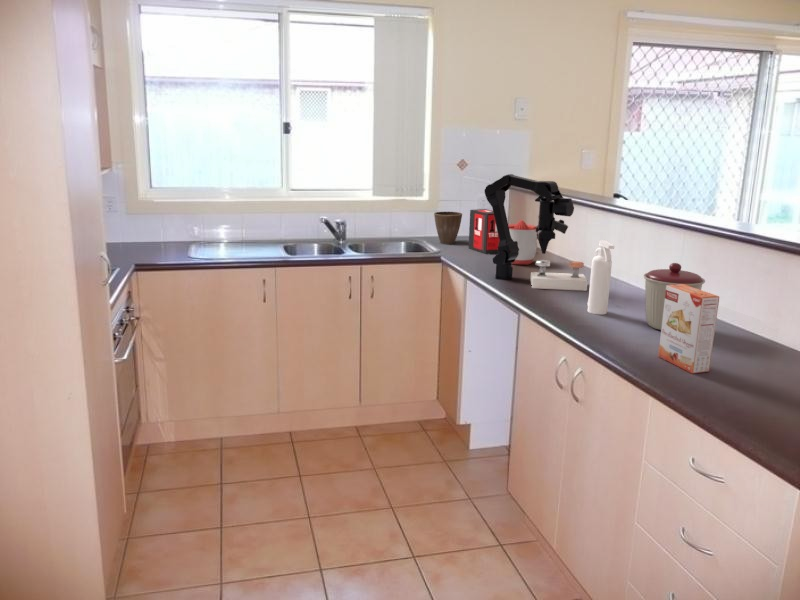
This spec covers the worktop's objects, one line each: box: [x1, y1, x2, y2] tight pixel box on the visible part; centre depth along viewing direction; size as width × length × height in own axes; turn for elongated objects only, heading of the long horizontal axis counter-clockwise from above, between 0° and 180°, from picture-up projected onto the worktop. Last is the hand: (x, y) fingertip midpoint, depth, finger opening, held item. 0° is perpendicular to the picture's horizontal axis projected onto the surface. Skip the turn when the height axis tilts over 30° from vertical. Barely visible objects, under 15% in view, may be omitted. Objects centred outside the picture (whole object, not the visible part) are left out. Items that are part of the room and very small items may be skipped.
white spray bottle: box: [586, 239, 615, 315], centre depth 234 cm, size 7×12×25 cm, turn 9°
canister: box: [643, 262, 706, 331], centre depth 216 cm, size 18×18×21 cm
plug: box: [535, 259, 551, 275], centre depth 272 cm, size 6×6×5 cm
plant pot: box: [433, 211, 463, 245], centre depth 366 cm, size 15×15×16 cm
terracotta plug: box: [568, 260, 585, 276], centre depth 271 cm, size 6×6×5 cm
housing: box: [529, 271, 588, 292], centre depth 273 cm, size 21×12×4 cm, turn 83°
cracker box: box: [657, 284, 720, 374], centre depth 182 cm, size 14×6×21 cm, turn 17°
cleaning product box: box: [468, 208, 499, 255], centre depth 345 cm, size 16×9×20 cm, turn 25°
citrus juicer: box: [508, 219, 539, 266], centre depth 316 cm, size 16×17×20 cm
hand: (543, 253), depth 271 cm, fingers closed
